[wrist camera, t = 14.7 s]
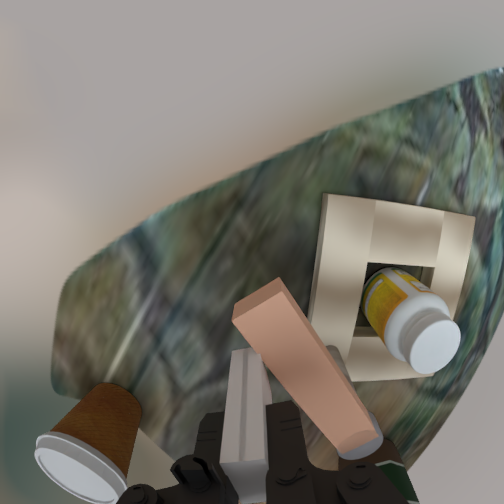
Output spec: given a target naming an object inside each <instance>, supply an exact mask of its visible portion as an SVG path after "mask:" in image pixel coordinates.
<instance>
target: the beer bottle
mask: <svg viewBox="0 0 504 504" xmlns="http://www.w3.org/2000/svg"><path fill="white" fill-rule="evenodd" d="M356 462H370V463H373V464H375V465H376V466H378V467H379V468H380V469H381V470H382V471H383V472H384V474H385V475H386V476H387V477H388V479H389V480H390V481H391V482H392V483H393V485H394V486H395V487H396V488H397V489H398V491H399V492H400V493H401V494H402V495H403V497H404V498H405V499H406V500H407V501H408V502H409V504H420V503H419V501H418V498H417V496H416V493H415V491H414V488H413V486H412V483H411V481H410V479H409V476H408V474H407V471H406V469H405V467H404V464H403V462H402V460H401V457H400V455H399V453H398V451H397V449H396V447H395V445H394V443H393V442H391V441H389V440H387V439H385V438H383V442H382V444H381V446H380V447H379V448H378V449H377V450H376V451H375V452H373V453H372V454H370V455H368V456H366V457H363V458H360V459H355V460H347V459H343V458H341V457H340V456H339V471H341V470H342V469H343V468H345V467H346V466H348V465H349V464H353V463H356Z"/></svg>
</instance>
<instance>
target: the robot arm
mask: <svg viewBox="0 0 504 504" xmlns="http://www.w3.org/2000/svg"><path fill="white" fill-rule="evenodd" d="M170 471H171V472H172V473H173V475H174V476H175V478H176V479H177V480H178V482H179V484H178V485H175V486H172V487H168V488H164V489H160V490H155V489H154V488H153V487H151V486H149V485H146V484H137V485H133V486H131V487H129V488H127V489H126V490H125V491H124V492H123V494H122V495H121V497H120V498H119V499H118V501H117V502H116V504H238V500H240V501H241V503H242V504H246V503H259V502H266V504H409V502H408V501H407V500H406V499H405V498H404V497H403V495H402V494H401V493H400V492H399V491H398V489H397V488H396V487H395V486H394V485H393V483H392V482H391V481H390V480H389V479H388V477H387V476H386V475H385V474H384V472H383V471H382V470H381V469H380V468H379V467H378V466H376V465H375V464H373V463H370V462H356V463H353V464H349V465H348V466H346V467H345V468H343V469H342V470H341V471H328V470H322V469H319V468H317V467H315V466H314V465H312V464H311V463H310V461H309V460H308V456H307V451H306V445H305V440H304V434H303V429H302V424H301V418H300V413H299V408H298V407H297V406H296V405H295V404H294V403H293V401H292V400H290V401H285V402H280V403H274V404H272V394H271V388H270V384H269V380H268V376H267V372H266V368H265V364H264V362H263V361H262V358H261V354H260V353H259V354H257V353H256V352H255V350H254V349H253V348H252V347H251V348H245V349H239V350H234V351H232V356H231V364H230V373H229V382H228V390H227V399H226V408H225V412H216V413H207V414H206V415H205V416H204V418H203V419H202V421H201V422H200V425H199V430H198V435H197V442H196V445H195V450H194V454H192V455H186V456H184V457H182V458H180V459H178V460H177V461H176V462H175V463H174V464H173V465H172V467H171V469H170Z"/></svg>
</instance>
